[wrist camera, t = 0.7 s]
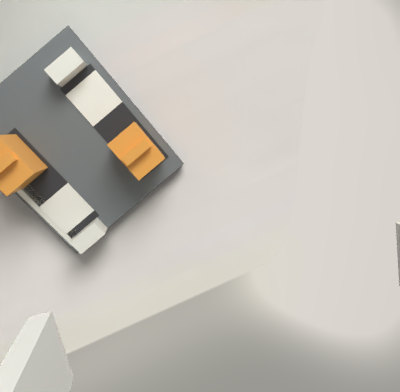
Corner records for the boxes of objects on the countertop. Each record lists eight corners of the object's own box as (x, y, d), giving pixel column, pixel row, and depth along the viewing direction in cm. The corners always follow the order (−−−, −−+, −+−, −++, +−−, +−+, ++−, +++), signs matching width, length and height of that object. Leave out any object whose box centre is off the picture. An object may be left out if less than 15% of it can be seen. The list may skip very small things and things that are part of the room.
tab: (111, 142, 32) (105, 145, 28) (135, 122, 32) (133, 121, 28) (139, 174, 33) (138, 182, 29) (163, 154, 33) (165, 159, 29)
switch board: (-43, 127, 32) (-66, 127, 28) (71, 29, 31) (62, 18, 28) (80, 248, 36) (73, 261, 32) (182, 162, 35) (186, 165, 32)
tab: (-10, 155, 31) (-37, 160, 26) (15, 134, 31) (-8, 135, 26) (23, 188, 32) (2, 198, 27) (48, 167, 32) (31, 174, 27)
